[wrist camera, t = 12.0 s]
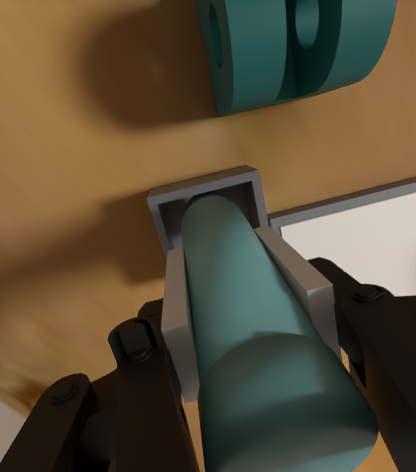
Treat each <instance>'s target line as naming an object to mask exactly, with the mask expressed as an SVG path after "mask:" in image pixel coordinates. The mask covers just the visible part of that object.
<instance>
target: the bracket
mask: <svg viewBox="0 0 416 472" xmlns="http://www.w3.org/2000/svg"><path fill="white" fill-rule="evenodd" d="M396 3H397V0H196V4H197V9H198V14H199V19H200V25H201V30H202V35H203V40H204V45H205V51H206V56H207V61H208V66H209V71H210V77H211V82H212V87H213V92H214V97H215V103H216V108H217V113H218V117H222V116H227V115H231V114H235V113H240V112H244V111H249V110H253V109H257V108H262V107H266V106H271V105H275V104H279V103H284V102H288V101H293V100H297V99H302V98H306V97H310V96H315V95H319V94H322V93H325V92H329V91H332V90H335V89H338V88H341V87H344V86H348V85H351V84H354V83H357V82H359V81H361V80H362V79H364V78H365V77H366V76H367V75H368V74H369V73H370V72H371V71H372V69H373V68H374V67H375V65H376V64H377V62H378V60H379V59H380V57H381V55H382V53H383V50H384V48H385V46H386V43H387V40H388V37H389V34H390V31H391V27H392V24H393V19H394V15H395V9H396Z"/></svg>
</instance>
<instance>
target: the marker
mask: <svg viewBox="0 0 416 472" xmlns="http://www.w3.org/2000/svg"><path fill="white" fill-rule="evenodd" d="M181 235H182V243H183V249H184V257H185V265H186V274H187V282H188V290H189V298H190V306H191V314H192V323H193V331H194V339H195V347H196V359H197V367H198V376H199V384H200V387H199V391H198V410H199V419H200V429H201V438H202V447H203V456H204V466H205V472H352V471H353V470H354V469H355V468H357V467H358V466H359V465H360V464H361V463H362V462H363V461H364V460H365V458H366V457H367V456H368V455H369V453H370V452H371V450H372V448H373V447H374V445H375V442H376V440H377V436H378V432H379V424H378V419H377V417H376V414H375V412H374V411H373V409H372V408H371V406H370V405H369V403H368V402H367V400H366V398H365V397H364V395H363V394H362V392H361V391H360V389H359V388H358V386H357V385H356V383H355V382H354V380H353V379H352V377H351V375H350V374H349V372H348V371H347V369H346V368H345V366H344V365H343V363H342V362H341V360H340V359H339V357H338V355H337V354H336V353H335V352H334V350H333V349H332V348H330V347H329V346H328V345H327V344H325V342H324V341H323V339H322V338H321V336H320V335H319V333H318V331H317V330H316V328H315V327H314V325H313V324H312V322H311V320H310V319H309V317H308V316H307V314H306V312H305V311H304V309H303V308H302V306H301V305H300V303H299V301H298V300H297V298H296V297H295V295H294V293H293V292H292V290H291V289H290V287H289V286H288V284H287V282H286V281H285V279H284V278H283V276H282V275H281V273H280V271H279V270H278V268H277V267H276V265H275V263H274V262H273V260H272V259H271V257H270V256H269V254H268V252H267V251H266V249H265V248H264V246H263V244H262V243H261V241H260V240H259V238H258V237H257V235H256V233H255V232H254V230H253V229H252V227H251V226H250V224H249V222H248V221H247V219H246V218H245V216H244V214H243V213H242V211H241V210H240V208H239V207H238V206H237V205H236V204H235V203H234V202H233V201H231V200H229V199H227V198H226V197H225V196H224V195H223V194H221V193H219V192H216V191H209V192H205V193H201V194H197V195H194V196H193V197H192V198H191V199H190V200H189V201H188V203H187V204H186V207H185V210H184V216H183V218H182V221H181Z"/></svg>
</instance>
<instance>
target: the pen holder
mask: <svg viewBox="0 0 416 472" xmlns="http://www.w3.org/2000/svg"><path fill="white" fill-rule="evenodd" d="M209 191H216V192H219V193H221V194H223V195H224V196H225V197H226V198H227V199H229V200H231V201H233V202H234V203H235V204H236V205H237V206H238V207H239V208H240V210H241V211H242V213H243V214H244V216H245V218H246V219H247V221H248V222H249V224H250V226H251V227H252V229H256V228H259V227H263V226H267V225H268V226H269V224H268V219H267V213H266V208H265V202H264V197H263V191H262V186H261V180H260V174H259V170H258V169H255V168H252V167H250V166H247V165H244V166H240V167H236V168H232V169H228V170H224V171H220V172H216V173H212V174H208V175H204V176H200V177H196V178H192V179H188V180H184V181H180V182H176V183H172V184H168V185H164V186H160V187H157V188H153V189H151V190H150V192H149V194H148V196H147V198H146V199H147V202H148V206H149V209H150V212H151V215H152V219H153V222H154V225H155V229H156V232H157V235H158V239H159V242H160V245H161V248H162V252H163V255H164V258H165V262H166V265H167V254H168V251H170V250H173V249H177V248H181V247H183V243H182V235H181V221H182V218H183V216H184V210H185V207H186V204H187V203H188V201H189V200H190V199H191V198H192V197H193V196H194V195H197V194H201V193H205V192H209Z"/></svg>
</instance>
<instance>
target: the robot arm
mask: <svg viewBox="0 0 416 472" xmlns="http://www.w3.org/2000/svg"><path fill="white" fill-rule="evenodd" d="M253 230H254V232H255V233H256V235H257V237H258V238H259V240H260V241H261V243H262V244H263V246H264V248H265V249H266V251H267V252H268V254H269V256H270V257H271V259H272V260H273V262H274V263H275V265H276V267H277V268H278V270H279V271H280V273H281V275H282V276H283V278H284V279H285V281H286V282H287V284H288V286H289V287H290V289H291V290H292V292H293V293H294V295H295V297H296V298H297V300H298V301H299V303H300V305H301V306H302V308H303V309H304V311H305V312H306V314H307V316H308V317H309V319H310V320H311V322H312V324H313V325H314V327H315V328H316V330H317V331H318V333H319V335H320V336H321V338H322V339H323V341H324V342H325V344H327V345H328V346H329V347H330V348H332V349H333V350H334V352H335V353H336V354H337V355H338V357H339V359H340V360H341V361H342V357H341V348H340V346H341V347H342V349H343V350H344V351H345V353H346V354H347V355H348V359H349V368H350V375H351V377H352V379H353V380H354V382H355V383H356V384H357V386H358V388H359V389H360V391H361V392H362V394H363V395H364V397H365V398H366V400H367V402H368V403H369V405H370V406H371V408H372V409H373V411H374V412H375V414H376V417H377V419H378V424H379V432H380V434H381V436H382V438H383V440H384V442H385V444H386V446H387V448H388V450H389V452H390V454H391V457H392V459H393V461H394V463H395V465H396V467H397V469H398V471H399V472H416V295H412V296H394V295H393V294H392V293H391V292H390V291H389V290H387V289H386V288H384V287H381V286H378V285H374V284H361V283H359V282H358V281H357V280H355V279H354V278H353V277H352V276H350V275H349V274H348V273H346V272H344V270H343V269H341V268H340V267H338V266H337V265H336V264H335V263H333V262H332V261H331V260H328V259H325V258H321V257H317V258H313V259H309V260H306V259H304V258H303V257H302V256H301V255H300V254H299V253H298V252H297V251H296V250H295V249H294V248H292V247H291V246H290V245H289V244H288V243H287V242H286V241H285V240H284V239H283V238H282V237H280V236H279V235H278V234H277V233H276V232H275V231H274V230H273V229H272V228H271V227H270V226H268V225H267V226H263V227H259V228H256V229H253ZM108 342H109V344H110V347H111V349H112V352H113V354H114V357H115V359H116V362H117V369H115V370H114V371H113V372H111V373H109V374H107V375H105V376H103V377H101V378H99V379H97V380H95V381H93V382H91V383H90V380H89V378H88V376H87V375H85V374H82V373H79V374H72V375H69V376H66V377H63V378H61V379H60V380H58V381H56V382H55V383H54V384H52V385H51V386H50V387H49V388H48V389H46V390H45V392H44V393H43V394H42V395H41V397H40V398H39V400H38V401H37V403H36V405H35V406H34V408H33V410H32V411H31V413H30V415H29V416H28V418H27V420H26V421H25V423H24V425H23V426H22V428H21V430H20V431H19V433H18V435H17V436H16V438H15V440H14V441H13V443H12V444H11V446H10V448H9V449H8V451H7V453H6V454H5V456H4V458H3V459H2V461H1V463H0V472H200V470H199V466H198V462H197V458H196V454H195V450H194V446H193V442H192V438H191V434H190V430H189V426H188V422H187V418H186V415H185V412H184V409H183V406H182V398H181V392H182V395H183V398H184V401H185V403H187V402H191V401H195V400H198V391H199V387H200V384H199V376H198V367H197V359H196V347H195V339H194V331H193V323H192V314H191V306H190V298H189V290H188V282H187V274H186V265H185V257H184V249H183V247H181V248H177V249H173V250H170V251H168V254H167V265H166V277H165V288H164V298H162V299H159V300H155V301H151V302H147V303H145V304H144V305H143V306H142V308H141V309H140V310H139V312H138V317H136V318H132V319H129V320H127V321H125V322H122V323H121V324H119V325H118V326H117V327H115V328H114V329H113V330H112V331H111V332H110V334H109V336H108Z"/></svg>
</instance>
